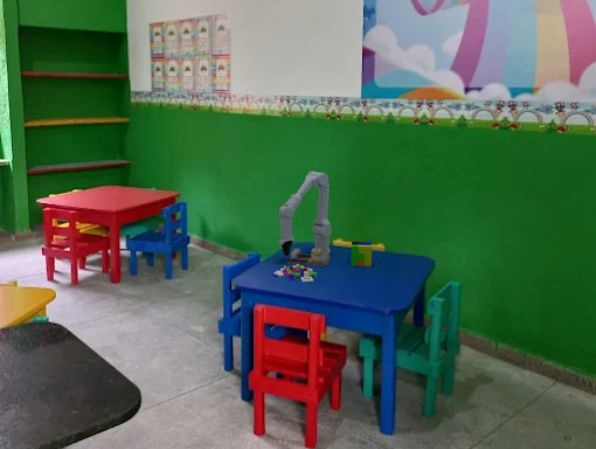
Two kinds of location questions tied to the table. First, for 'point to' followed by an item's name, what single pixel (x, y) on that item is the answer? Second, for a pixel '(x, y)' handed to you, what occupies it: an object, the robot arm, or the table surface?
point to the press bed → (307, 261)
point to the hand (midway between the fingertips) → (286, 255)
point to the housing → (315, 254)
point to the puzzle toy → (361, 253)
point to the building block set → (304, 273)
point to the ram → (295, 254)
